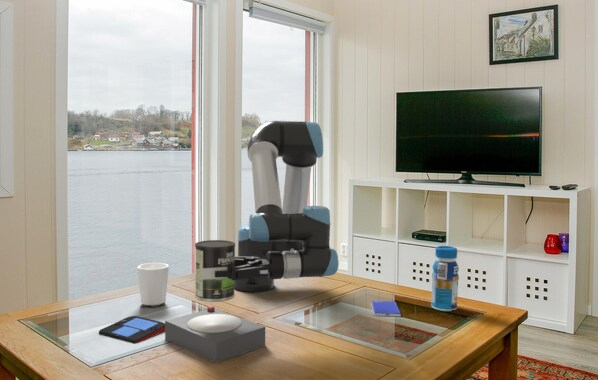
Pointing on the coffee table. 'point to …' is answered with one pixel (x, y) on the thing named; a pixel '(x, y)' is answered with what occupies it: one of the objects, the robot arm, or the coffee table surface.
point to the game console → (133, 329)
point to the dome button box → (215, 334)
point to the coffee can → (212, 257)
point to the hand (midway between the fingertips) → (198, 269)
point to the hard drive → (385, 308)
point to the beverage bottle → (445, 279)
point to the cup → (153, 283)
